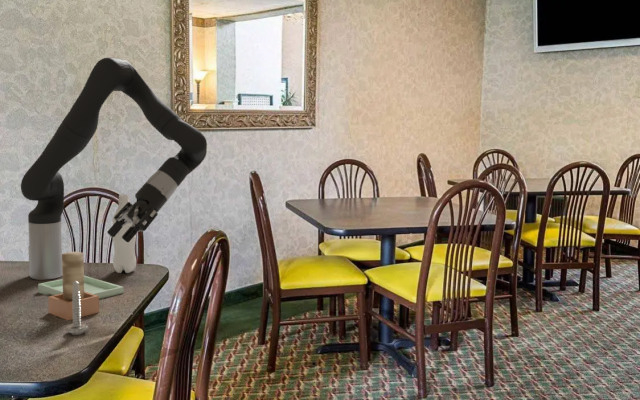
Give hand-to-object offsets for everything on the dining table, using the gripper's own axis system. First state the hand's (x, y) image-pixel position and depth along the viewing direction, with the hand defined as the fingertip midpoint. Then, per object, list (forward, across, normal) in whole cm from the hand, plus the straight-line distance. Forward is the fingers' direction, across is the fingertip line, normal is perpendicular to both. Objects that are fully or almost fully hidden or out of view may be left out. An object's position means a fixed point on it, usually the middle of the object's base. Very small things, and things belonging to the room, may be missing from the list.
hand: (117, 237), depth 165 cm
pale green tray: (+15, -18, +11) cm, 26 cm away
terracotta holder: (+22, 0, +5) cm, 22 cm away
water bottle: (0, -35, +27) cm, 44 cm away
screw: (+26, +15, +1) cm, 30 cm away
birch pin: (+21, 0, +4) cm, 21 cm away
